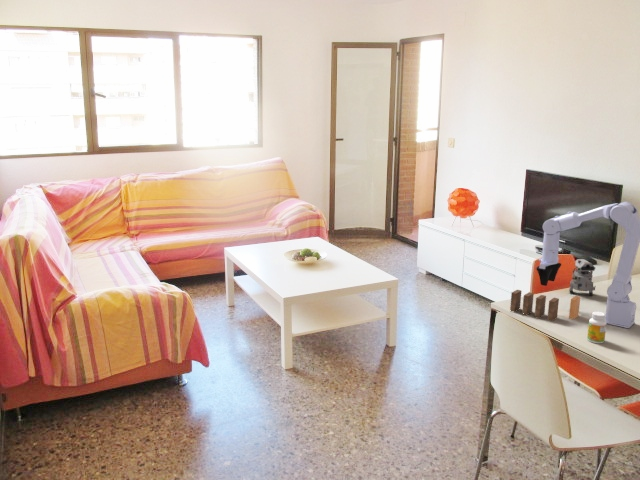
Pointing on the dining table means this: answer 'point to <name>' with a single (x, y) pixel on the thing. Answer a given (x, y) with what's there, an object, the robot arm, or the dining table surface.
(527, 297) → the tile
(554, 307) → the tile
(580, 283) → the figurine
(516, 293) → the tile
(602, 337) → the supplement bottle
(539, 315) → the tile
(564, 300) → the dining table surface
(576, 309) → the orange tile
